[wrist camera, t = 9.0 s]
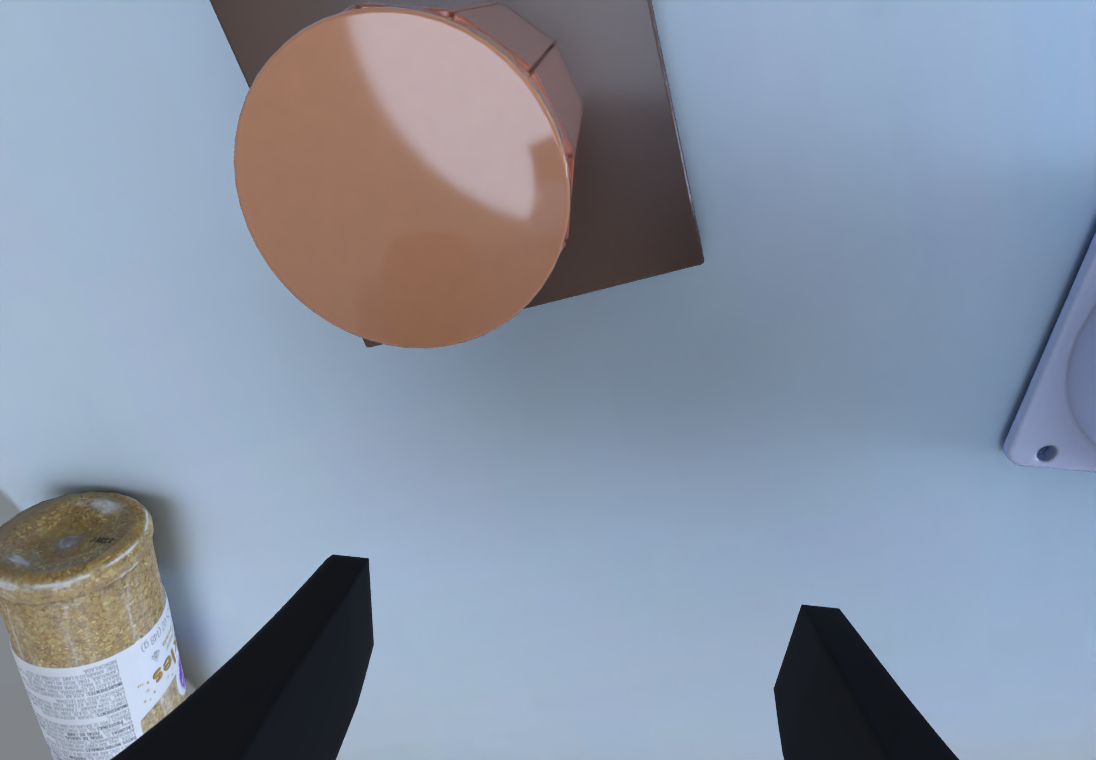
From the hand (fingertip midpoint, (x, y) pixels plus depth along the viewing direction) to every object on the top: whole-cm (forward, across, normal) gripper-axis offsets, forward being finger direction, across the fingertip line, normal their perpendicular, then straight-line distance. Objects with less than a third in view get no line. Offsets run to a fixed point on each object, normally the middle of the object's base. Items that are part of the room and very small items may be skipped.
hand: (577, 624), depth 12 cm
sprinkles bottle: (+7, +15, +6) cm, 18 cm away
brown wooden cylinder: (+8, +3, -6) cm, 11 cm away
